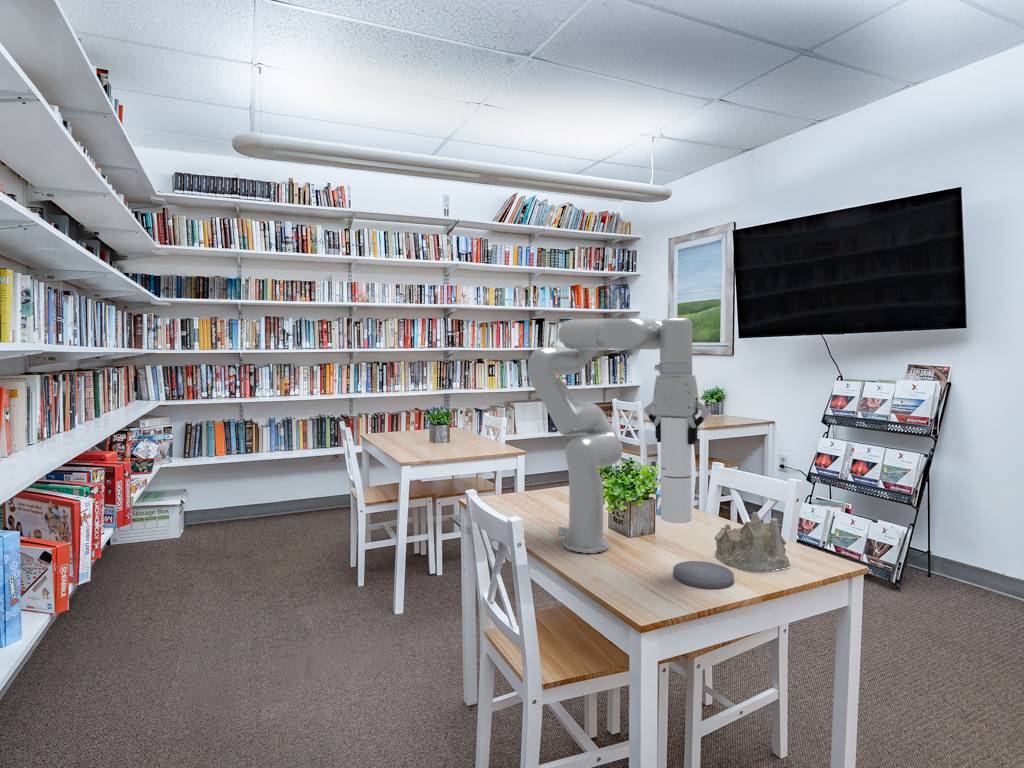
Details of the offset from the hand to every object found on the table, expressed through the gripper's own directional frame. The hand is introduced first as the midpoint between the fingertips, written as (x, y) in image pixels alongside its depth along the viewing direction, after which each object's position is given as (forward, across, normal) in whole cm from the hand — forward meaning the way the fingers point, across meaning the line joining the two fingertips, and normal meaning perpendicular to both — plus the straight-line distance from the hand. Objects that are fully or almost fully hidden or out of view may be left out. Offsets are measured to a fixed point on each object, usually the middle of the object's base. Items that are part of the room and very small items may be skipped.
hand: (676, 442), depth 141 cm
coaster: (+33, +5, +4) cm, 34 cm away
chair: (+33, -24, +54) cm, 67 cm away
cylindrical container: (+19, 0, 0) cm, 19 cm away
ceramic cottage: (+34, +12, +22) cm, 42 cm away
